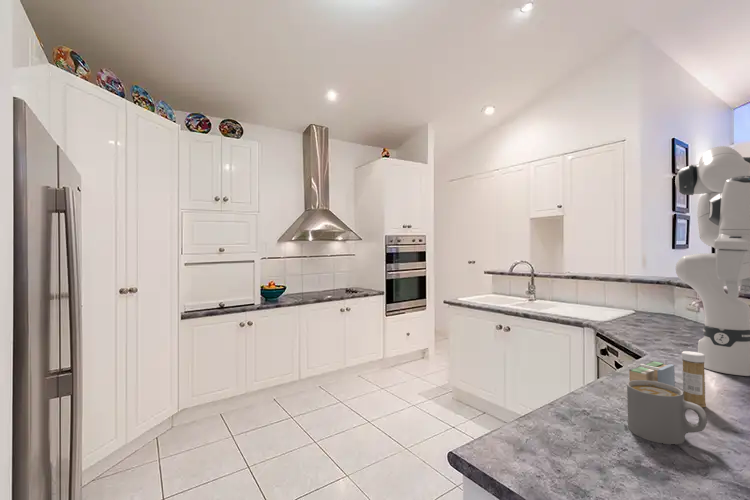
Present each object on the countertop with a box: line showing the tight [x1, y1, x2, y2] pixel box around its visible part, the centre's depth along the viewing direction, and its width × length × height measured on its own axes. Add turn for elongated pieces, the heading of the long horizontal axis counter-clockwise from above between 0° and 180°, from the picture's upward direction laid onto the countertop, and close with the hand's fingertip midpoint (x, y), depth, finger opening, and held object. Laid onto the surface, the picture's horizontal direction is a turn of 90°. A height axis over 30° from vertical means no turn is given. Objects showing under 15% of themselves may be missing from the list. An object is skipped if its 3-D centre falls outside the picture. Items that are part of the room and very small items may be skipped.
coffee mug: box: [626, 380, 708, 445], centre depth 79 cm, size 13×10×10 cm
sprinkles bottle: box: [681, 350, 707, 408], centre depth 94 cm, size 5×5×14 cm
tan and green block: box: [628, 360, 667, 381], centre depth 102 cm, size 14×4×7 cm, turn 121°
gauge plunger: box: [639, 363, 676, 387], centre depth 100 cm, size 9×5×8 cm, turn 121°
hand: (739, 294), depth 92 cm, fingers open, 8 cm apart
